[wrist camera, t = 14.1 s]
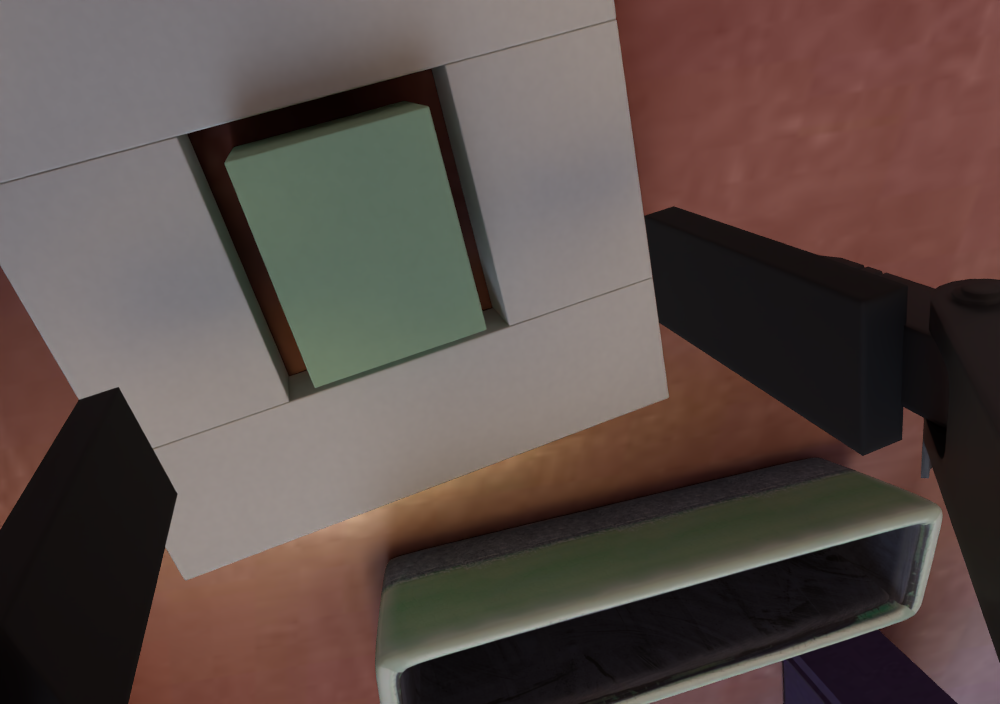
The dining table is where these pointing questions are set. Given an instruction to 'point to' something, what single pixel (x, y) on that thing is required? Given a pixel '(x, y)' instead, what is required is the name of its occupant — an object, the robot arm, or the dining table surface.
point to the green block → (359, 238)
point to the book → (859, 675)
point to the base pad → (225, 286)
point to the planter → (655, 590)
